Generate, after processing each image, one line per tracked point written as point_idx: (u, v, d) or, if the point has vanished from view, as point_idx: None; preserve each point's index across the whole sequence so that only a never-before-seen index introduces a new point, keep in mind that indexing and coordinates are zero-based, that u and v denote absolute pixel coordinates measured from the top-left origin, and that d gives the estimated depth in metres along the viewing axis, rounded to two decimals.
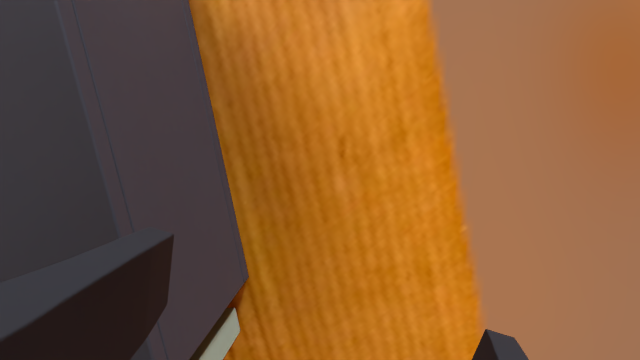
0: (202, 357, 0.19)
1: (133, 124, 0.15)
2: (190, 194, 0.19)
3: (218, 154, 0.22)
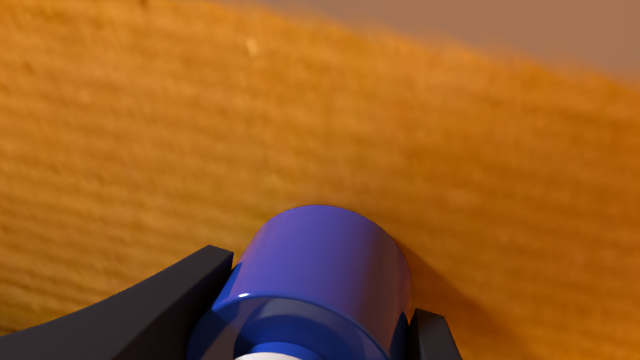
0: None
1: None
2: None
3: None
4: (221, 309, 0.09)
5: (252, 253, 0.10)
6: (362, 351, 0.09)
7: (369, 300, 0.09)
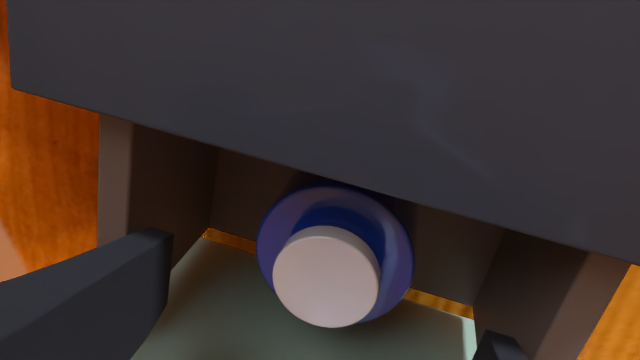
0: None
1: None
2: None
3: None
4: (286, 200, 0.13)
5: None
6: (387, 227, 0.12)
7: (390, 196, 0.13)
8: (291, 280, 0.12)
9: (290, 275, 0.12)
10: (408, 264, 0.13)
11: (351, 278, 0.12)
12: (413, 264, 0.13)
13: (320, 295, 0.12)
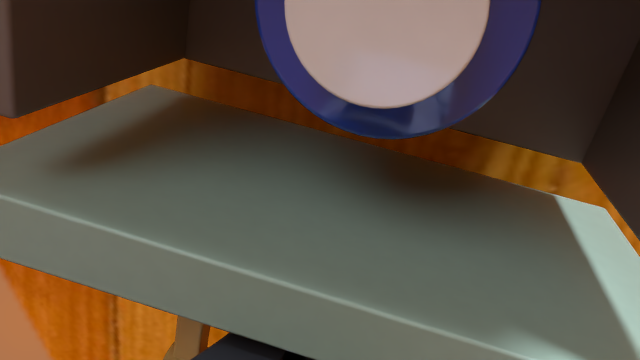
0: None
1: None
2: None
3: None
4: None
5: None
6: None
7: None
8: (320, 7, 0.07)
9: None
10: None
11: None
12: None
13: (374, 35, 0.07)
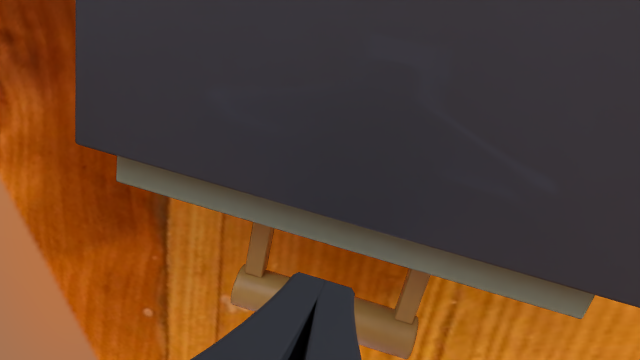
0: None
1: None
2: None
3: None
4: None
5: None
6: None
7: None
8: None
9: None
10: None
11: None
12: None
13: None
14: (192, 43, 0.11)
